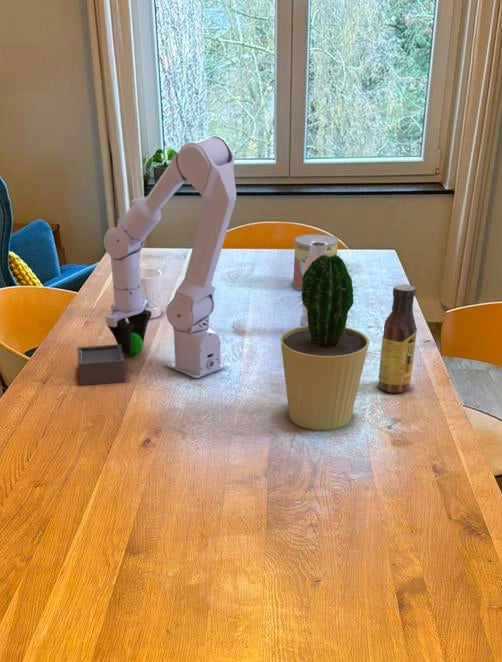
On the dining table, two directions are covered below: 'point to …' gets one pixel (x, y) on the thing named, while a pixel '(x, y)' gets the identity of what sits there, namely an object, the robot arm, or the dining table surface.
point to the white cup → (152, 290)
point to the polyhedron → (135, 344)
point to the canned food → (303, 253)
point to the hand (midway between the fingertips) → (131, 348)
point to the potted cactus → (324, 349)
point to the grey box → (101, 364)
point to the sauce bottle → (398, 342)
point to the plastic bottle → (315, 251)
